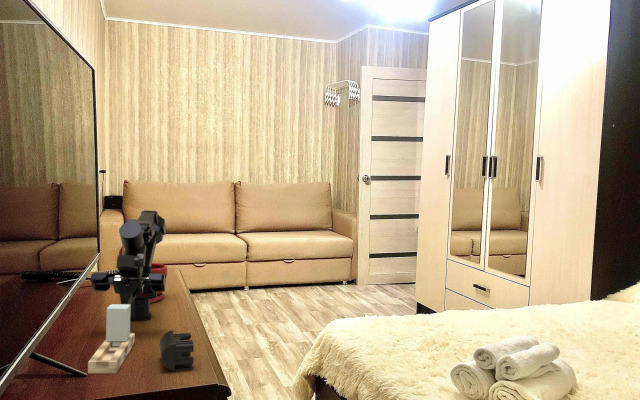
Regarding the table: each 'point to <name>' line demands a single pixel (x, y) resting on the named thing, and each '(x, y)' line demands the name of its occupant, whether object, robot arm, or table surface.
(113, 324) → the block
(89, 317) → the table surface
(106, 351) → the beam
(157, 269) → the plant pot
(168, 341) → the end cap
